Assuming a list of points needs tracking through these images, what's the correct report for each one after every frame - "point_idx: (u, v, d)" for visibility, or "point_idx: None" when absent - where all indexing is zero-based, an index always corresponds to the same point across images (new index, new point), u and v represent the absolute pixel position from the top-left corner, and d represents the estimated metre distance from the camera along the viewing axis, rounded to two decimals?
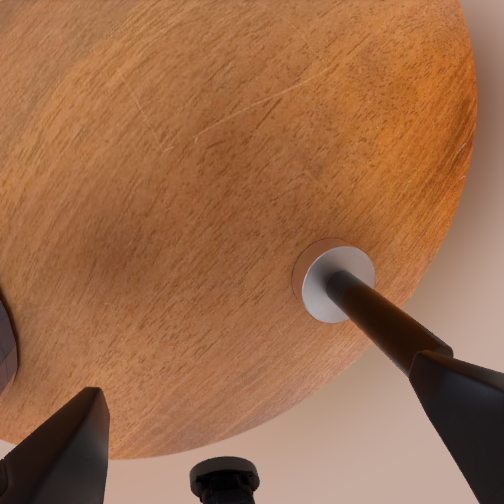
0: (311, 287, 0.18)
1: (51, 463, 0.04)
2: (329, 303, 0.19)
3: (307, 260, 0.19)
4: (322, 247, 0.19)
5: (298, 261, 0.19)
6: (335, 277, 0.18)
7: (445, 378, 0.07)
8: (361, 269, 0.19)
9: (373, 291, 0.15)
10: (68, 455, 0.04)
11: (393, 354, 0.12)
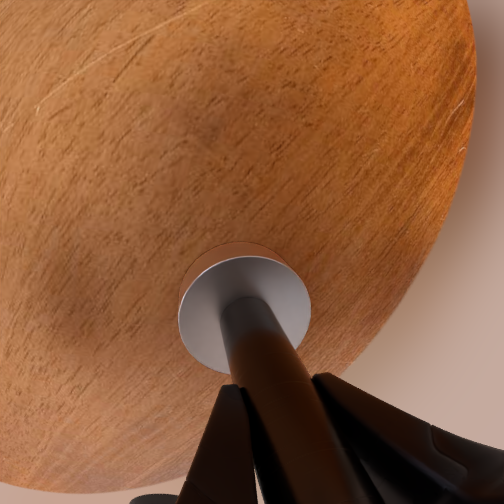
0: (193, 322, 0.11)
1: (250, 467, 0.04)
2: None
3: (189, 278, 0.11)
4: (213, 257, 0.11)
5: (184, 278, 0.12)
6: (230, 308, 0.11)
7: (335, 411, 0.06)
8: (282, 294, 0.11)
9: (275, 345, 0.08)
10: None
11: None
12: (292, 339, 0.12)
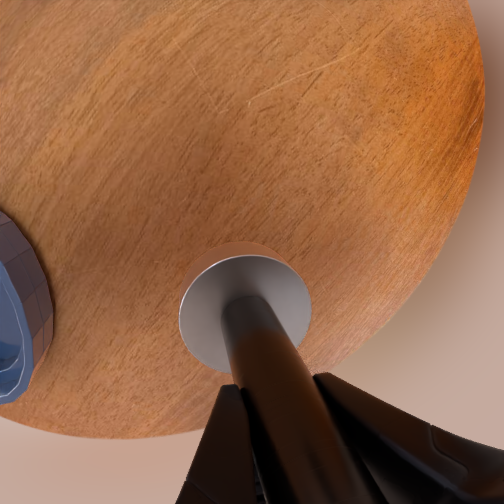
0: (194, 321, 0.11)
1: (250, 467, 0.04)
2: None
3: (189, 277, 0.11)
4: (214, 256, 0.11)
5: (185, 277, 0.12)
6: (231, 307, 0.11)
7: (336, 411, 0.06)
8: (283, 293, 0.11)
9: (276, 344, 0.08)
10: None
11: (266, 501, 0.04)
12: (292, 338, 0.12)
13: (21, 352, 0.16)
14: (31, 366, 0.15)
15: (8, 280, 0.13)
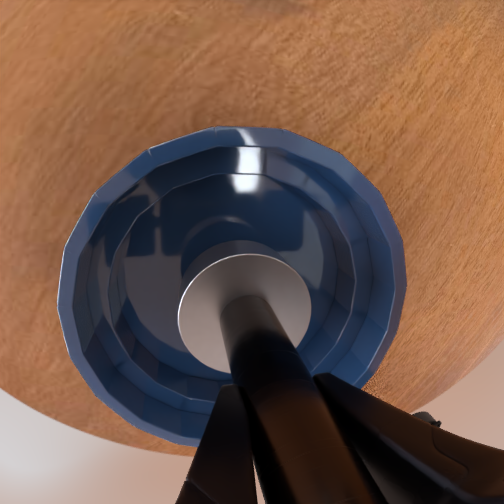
0: (193, 320, 0.11)
1: (250, 467, 0.04)
2: None
3: (188, 276, 0.11)
4: (213, 255, 0.11)
5: (184, 276, 0.12)
6: (230, 306, 0.11)
7: (336, 411, 0.06)
8: (282, 292, 0.11)
9: (276, 343, 0.08)
10: None
11: None
12: (292, 338, 0.12)
13: (326, 359, 0.15)
14: (375, 369, 0.14)
15: (402, 258, 0.12)
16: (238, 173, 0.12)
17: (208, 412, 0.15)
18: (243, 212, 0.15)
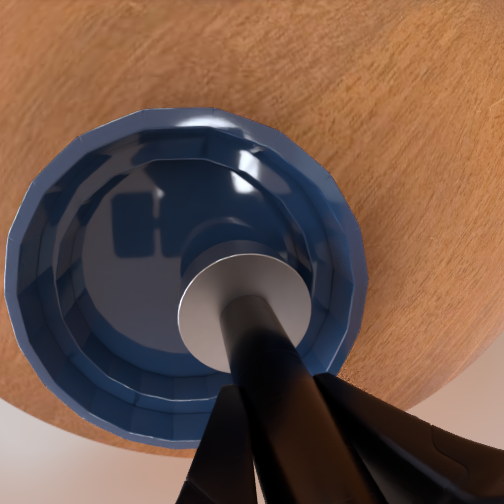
0: (193, 320, 0.11)
1: (250, 467, 0.04)
2: None
3: (188, 276, 0.11)
4: (213, 255, 0.11)
5: (184, 276, 0.12)
6: (230, 306, 0.11)
7: (336, 411, 0.06)
8: (282, 292, 0.11)
9: (275, 343, 0.08)
10: None
11: None
12: (292, 338, 0.12)
13: None
14: (337, 371, 0.13)
15: (360, 248, 0.12)
16: (178, 158, 0.11)
17: (162, 409, 0.14)
18: (192, 201, 0.14)
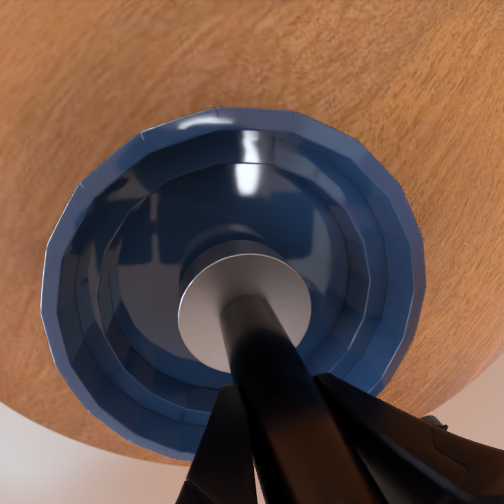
0: (193, 320, 0.11)
1: (250, 467, 0.04)
2: None
3: (188, 276, 0.11)
4: (213, 255, 0.11)
5: (184, 276, 0.12)
6: (230, 306, 0.11)
7: (336, 411, 0.06)
8: (282, 292, 0.11)
9: (276, 343, 0.08)
10: None
11: (265, 501, 0.04)
12: (292, 338, 0.12)
13: (336, 367, 0.14)
14: (390, 377, 0.12)
15: (421, 258, 0.11)
16: (242, 162, 0.11)
17: None
18: (247, 207, 0.13)
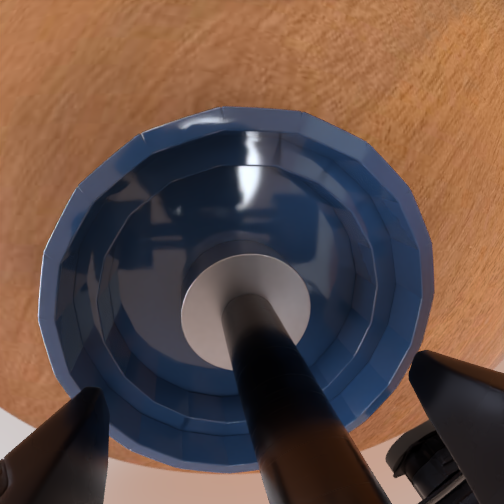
0: (195, 319, 0.11)
1: (51, 463, 0.04)
2: None
3: (191, 276, 0.12)
4: (215, 255, 0.12)
5: (186, 275, 0.13)
6: (232, 305, 0.11)
7: (445, 378, 0.07)
8: (282, 291, 0.12)
9: (276, 340, 0.08)
10: (68, 455, 0.04)
11: (266, 491, 0.05)
12: (292, 336, 0.12)
13: (342, 373, 0.14)
14: (397, 384, 0.12)
15: (430, 263, 0.11)
16: (247, 164, 0.10)
17: (212, 431, 0.13)
18: (252, 210, 0.13)
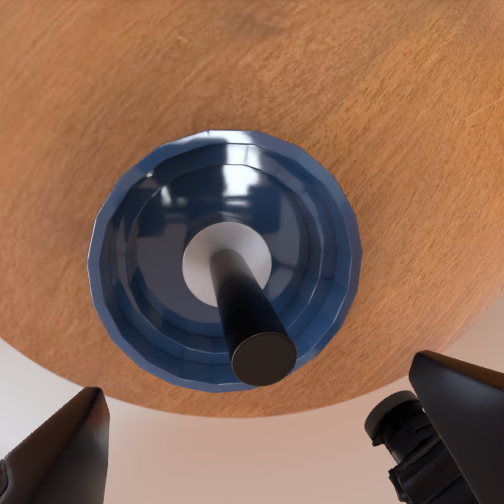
0: (192, 266, 0.17)
1: (51, 463, 0.04)
2: None
3: (189, 238, 0.17)
4: (206, 224, 0.17)
5: (186, 240, 0.18)
6: (216, 255, 0.17)
7: (445, 378, 0.07)
8: (250, 248, 0.17)
9: (240, 268, 0.14)
10: (68, 455, 0.04)
11: None
12: (259, 282, 0.18)
13: (300, 316, 0.19)
14: (341, 323, 0.18)
15: (355, 229, 0.16)
16: (226, 164, 0.16)
17: (203, 361, 0.19)
18: (231, 195, 0.19)
